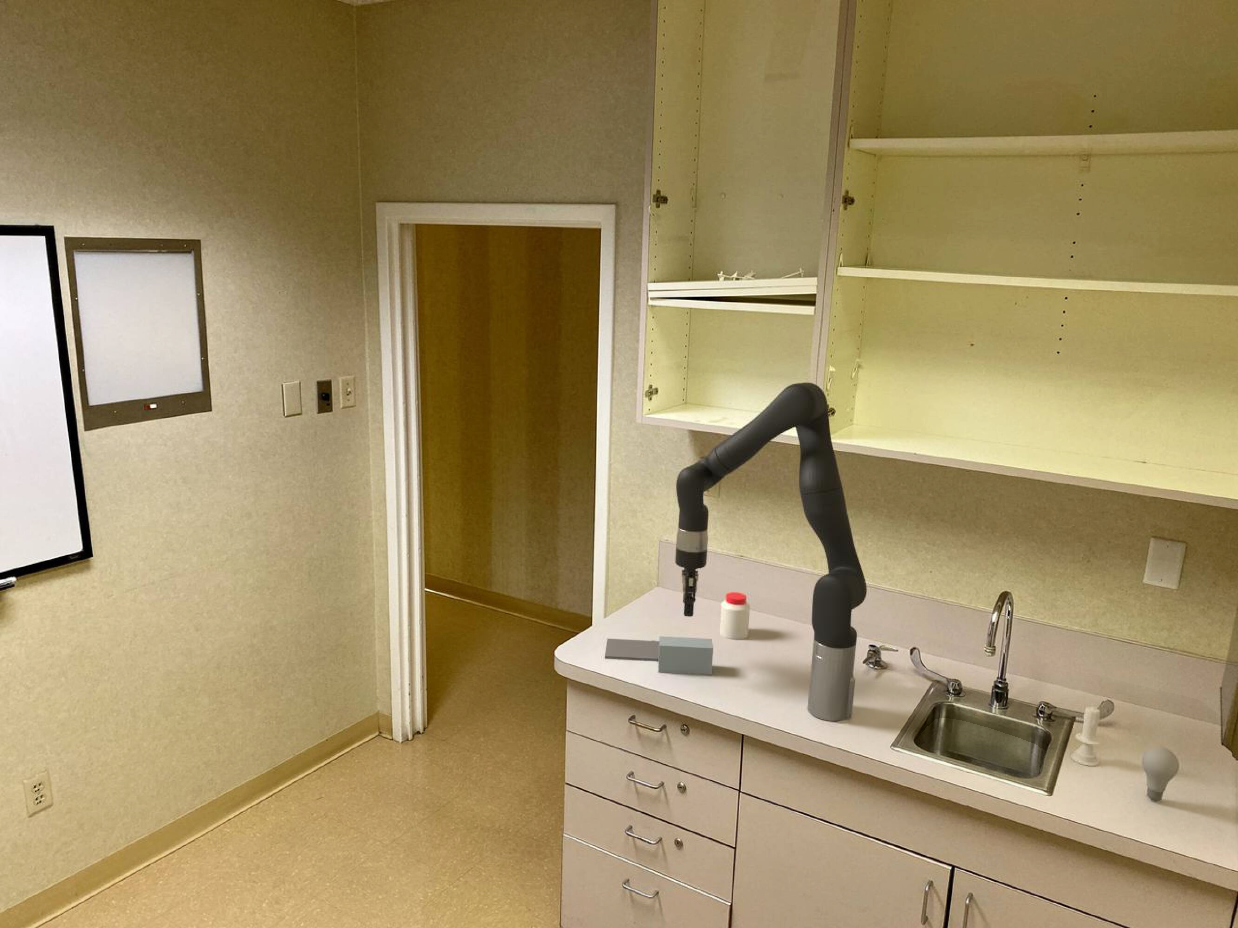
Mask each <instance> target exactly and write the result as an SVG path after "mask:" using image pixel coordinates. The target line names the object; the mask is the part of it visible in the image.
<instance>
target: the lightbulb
mask: <svg viewBox="0 0 1238 928" xmlns="http://www.w3.org/2000/svg"><path fill="white" fill-rule="evenodd" d="M1179 763H1180V762H1179V759H1178V757H1177V756H1176V755H1175V753H1174V752H1173V751H1171V750H1170V749H1168V748H1166V747H1164V746H1158V745H1157V746H1152V747H1149V748H1148V749H1146V750H1145V751H1143V754H1142V756H1141V765H1142V768H1143V770H1144V772H1145V776H1146V787H1147V788H1146V797H1147V798H1148V799H1150V800H1151V801H1152V802H1159V801H1161V800H1162V799H1163V796H1164V795H1163V794H1164V792H1165V791H1166V789H1167V786H1168V784H1169V782H1170V781H1171V780H1172V779H1173V778H1174V777H1176V775H1177V774H1178V772H1179V770H1180V764H1179Z"/></svg>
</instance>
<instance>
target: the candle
mask: <svg viewBox="0 0 1238 928" xmlns="http://www.w3.org/2000/svg"><path fill="white" fill-rule="evenodd" d="M1084 710H1085V711H1084V715H1083V726H1082V730H1081V732H1079V733H1078V732H1077V733H1076V734H1075V739H1077V740H1078V741H1079V742H1081V745H1080V746H1079V747H1078V748H1076V749H1075V751H1074V752H1073V751H1072V753H1071V754H1070V757H1071V759H1072V760H1073V761H1074V762H1076V763H1078V764H1079V765H1082V766H1086V767H1096V766H1099V764H1100V760H1099V759H1098V758H1097V753H1095V752H1094V747H1093V746H1097V745H1100V744H1101V743H1102V741H1101V739H1100V738H1099V737H1098V736H1097V731H1098V726H1099V724H1100V716H1101V715H1100V714H1101V711H1100V709H1098V708H1097V707H1095V706H1094V705H1093V706H1087V707H1086V708H1085V709H1084Z"/></svg>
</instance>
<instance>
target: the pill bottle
mask: <svg viewBox="0 0 1238 928" xmlns="http://www.w3.org/2000/svg"><path fill="white" fill-rule="evenodd" d="M750 610H751V605H750V603H748V601H747V595H746V594H744V593H741V592H732V591H731V592H727V593H726V595H725V599H724V600H723V601H722V602H721V604H720V619H719V634H720V636H721V637H723V638H725V639H727V640H736V641H737V640H743V639H744V640H745V639H746V638H747V637H748V636H749V625H750V623H749V622H750V614H751V612H750Z"/></svg>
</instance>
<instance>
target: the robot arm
mask: <svg viewBox="0 0 1238 928" xmlns="http://www.w3.org/2000/svg"><path fill="white" fill-rule="evenodd" d="M825 394H826V393H825V392H824V391H823V389H822V388H821V387H820V386H818V385H817V384H815V383H813V382H799V383H798V382H797V383H793V384H790V385H788V386H786V387H785V388H783V390H782V391H781V392H780V393H779V394H778V395H777V396H776V397H775V398H774V399H773V400H772V401H771V402H770V403H769V404H768V405H767V406H766V407H765V409H763V410H762V411H761V412H760V413H759V414H757V415H756V416H755V417H754V418H753V419H751V421H750V422H747V424H745V425H744V426H742V427H741V428H740V429H738V430H737V431H735V432H734V433H733V434H731V435H730V436H728V437H727V438H725V439H724V440H723V441H721V442H720V443H719V444H717V445H716V446H715V447H714V448H712V449H711V450H710V451H708V454H707V455H705V456H704V457H703V458H701V459H700V460H698V461H697V462H695V463H694V464H691V465H689V466H687V467H684V468H683V469H681V470H680V472H679V473H678V475H677V477H676V482H675V483H676V485H675V489H676V491H675V492H676V498H677V504H678V509H679V510H678V511H679V512H678V513H679V514H678V528H677V533H676V539H675V540H676V543H675V544H676V545H675V557H674V558H675V559H674V563H675V564H676V566H677V567H680V568H683V569H681V583H682V593H683V596H682V602H683V604H684V605H683V615H684V617H690V618H691V617H693V616H694V605H695V603H696V600H697V599H696V594H697V591H698V582H699V571H698V569H703V568H705V567H706V565H707V560H708V544H709V543H708V542H709V533H708V529H709V528H708V527H709V508H708V506H707V505H706V504H705V503H704V494H705V492H707V491H708V490H710V489H711V488H713V487H714V486H716V485H717V484H718V483H719V482H721V480H724V478H725V477H726V476H727V475H730V474H731V473H734V472H735V471H736V470H737V469H739V468H740V467H742V466H744V464H746V463H747V462H749V461H750V460H751V459H752V458H754V457H755V455H756V454H758V453H759V452H760V451H761V450H762V449H763V448H764V447H765V446H766V445H767V444H768V443H770V442H771V441H772V440H774V439H775V438H777V437H778V436H780V435H782V434H783V433H785V432H787V431H789V430H791V429H794V428H795V429H796V430H795V431H796V434H797V438H798V444H799V449H800V450H799V452H800V456H799V468H798V469H799V470H798V471H799V472H798V473H799V474H798V489H799V494H800V500H801V504H802V509H803V513H804V516H805V518H806V520H807V522H808V525H809V526H810V527H811V529H812V531H813V532H814V533H815V535H816V536H817V538H818V540H819V541H820V542H821V545H822V546H823V547H822V548H823V550H824V554H825V558H826V562H827V568H828V571H827V572H828V573H826V574H824V575H823V576H821V577H820V578H818V579H817V581H816V583H815V585H814V588H813V593H812V603H811V605H812V606H811V607H812V608H811V626H812V630H813V642H812V643H813V645H812V658H811V666H810V677H809V689H808V699H807V710H808V712H809V713H810V714H811V715H812V716H813V717H816V718H818V719H820V720H825V721H831V722H837V721H838V722H839V721H843V720H847V719H852V717H853V716H852V714H853V706H854V705H853V704H854V697H855V695H854V694H855V684H856V678H855V676H854V669H855V659H856V649H857V639H858V633H857V630H856V629H855V627H853V626H852V611H853V610H855V609H856V608H857V607H859V606H860V605H862V603H864V601H865V599H866V597H867V591H868V590H867V589H868V588H867V581H866V578H865V576H864V571H863V569H862V566H861V563H860V559H859V556H858V553H857V550H856V546H855V542H854V539H853V533H852V528H851V523H850V519H849V515H848V509H847V504H846V497H845V493H844V487H843V484H842V480H841V475H840V472H839V467H838V462H837V458H836V457H837V456H836V454H835V451H834V447H833V441H832V434H831V427H830V426H831V425H830V419H829V418H830V417H829V416H830V415H829V407H828V399H827V396H826V395H825Z"/></svg>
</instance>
